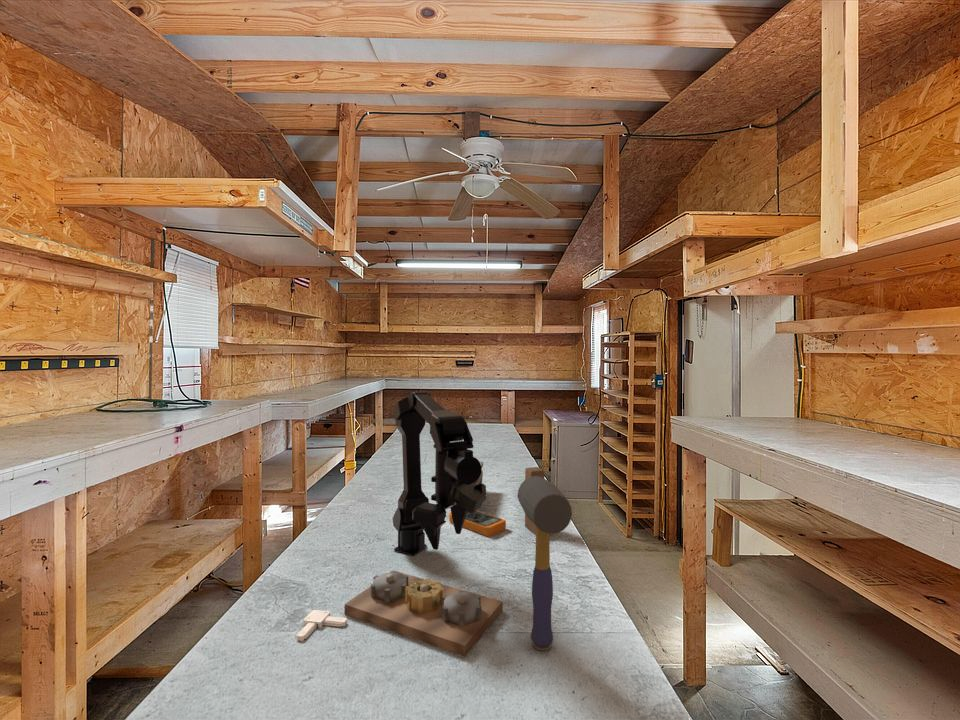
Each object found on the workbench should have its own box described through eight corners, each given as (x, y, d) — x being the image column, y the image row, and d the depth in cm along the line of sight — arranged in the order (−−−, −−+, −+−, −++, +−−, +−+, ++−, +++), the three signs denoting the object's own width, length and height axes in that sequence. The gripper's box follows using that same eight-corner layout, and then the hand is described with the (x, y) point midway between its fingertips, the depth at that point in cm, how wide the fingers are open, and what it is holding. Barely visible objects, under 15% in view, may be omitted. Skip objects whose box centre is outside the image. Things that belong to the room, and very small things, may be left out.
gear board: (344, 613, 93) (344, 587, 92) (393, 578, 107) (393, 555, 107) (464, 657, 80) (465, 626, 80) (502, 610, 94) (502, 584, 94)
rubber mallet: (514, 627, 88) (515, 473, 88) (551, 624, 89) (552, 472, 89) (530, 672, 76) (532, 494, 75) (573, 668, 77) (575, 492, 77)
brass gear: (398, 606, 92) (398, 592, 92) (419, 589, 98) (419, 575, 98) (429, 617, 88) (429, 601, 88) (449, 598, 95) (449, 584, 95)
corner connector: (330, 647, 83) (330, 638, 83) (290, 642, 84) (290, 633, 84) (350, 621, 91) (350, 613, 91) (313, 617, 92) (313, 609, 92)
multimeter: (465, 515, 149) (465, 505, 149) (507, 530, 137) (507, 519, 137) (445, 522, 143) (445, 511, 143) (488, 539, 130) (488, 527, 130)
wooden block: (551, 535, 132) (552, 474, 132) (537, 537, 131) (538, 475, 131) (537, 524, 141) (538, 466, 140) (524, 526, 139) (524, 467, 139)
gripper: (457, 489, 89) (455, 568, 90) (499, 467, 105) (498, 533, 106) (411, 480, 94) (410, 554, 95) (458, 460, 111) (457, 524, 111)
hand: (447, 541), depth 102 cm, fingers open, 9 cm apart
